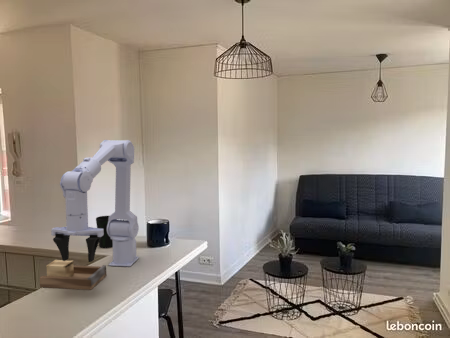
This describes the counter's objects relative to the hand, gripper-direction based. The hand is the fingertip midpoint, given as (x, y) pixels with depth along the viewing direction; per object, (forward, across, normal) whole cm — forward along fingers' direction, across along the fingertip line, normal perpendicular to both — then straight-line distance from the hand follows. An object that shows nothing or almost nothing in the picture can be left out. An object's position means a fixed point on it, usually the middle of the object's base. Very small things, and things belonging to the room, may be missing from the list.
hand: (78, 260), depth 106 cm
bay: (+10, -6, +9) cm, 14 cm away
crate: (+9, -10, +9) cm, 16 cm away
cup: (+10, -10, +45) cm, 47 cm away
